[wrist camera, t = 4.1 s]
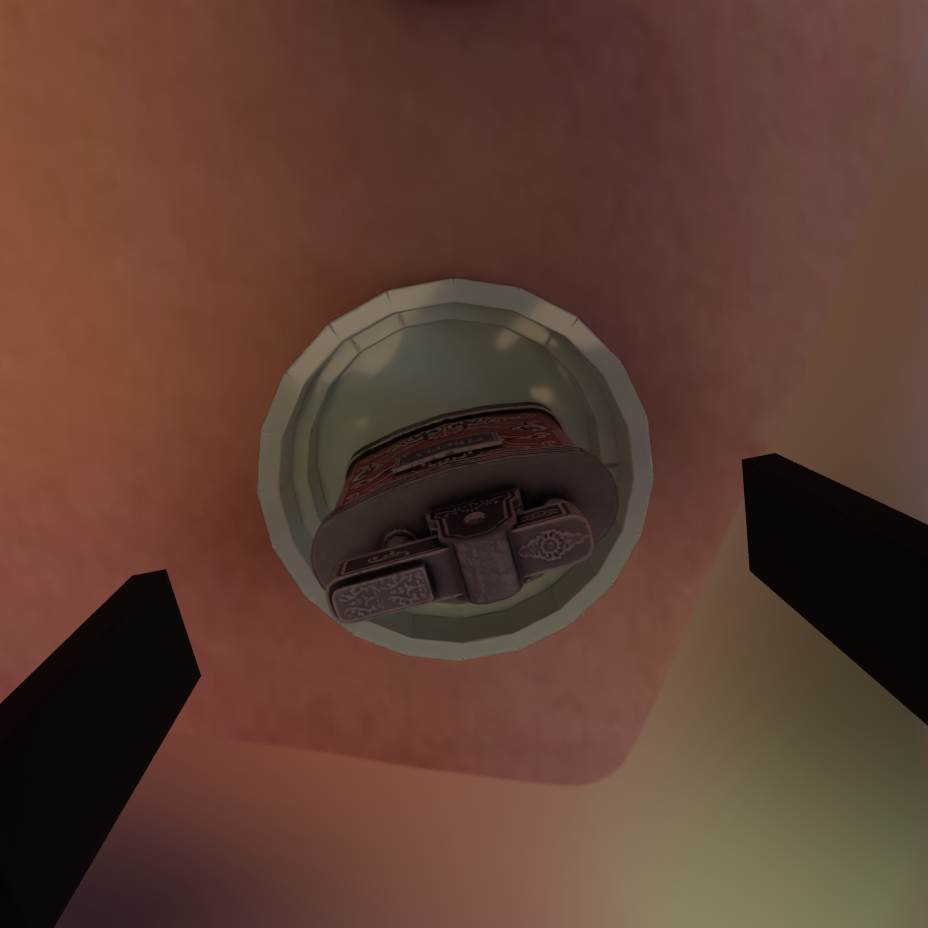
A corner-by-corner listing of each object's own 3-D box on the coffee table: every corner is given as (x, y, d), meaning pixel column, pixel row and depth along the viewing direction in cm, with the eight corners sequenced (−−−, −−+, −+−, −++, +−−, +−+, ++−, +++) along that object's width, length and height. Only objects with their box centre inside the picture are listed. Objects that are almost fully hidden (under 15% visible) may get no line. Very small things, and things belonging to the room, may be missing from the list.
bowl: (596, 251, 23) (629, 243, 19) (635, 572, 26) (670, 622, 22) (246, 317, 23) (208, 323, 19) (329, 630, 26) (312, 690, 22)
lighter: (550, 383, 23) (636, 452, 14) (571, 471, 24) (664, 594, 15) (333, 443, 24) (267, 553, 14) (362, 528, 24) (318, 686, 15)
